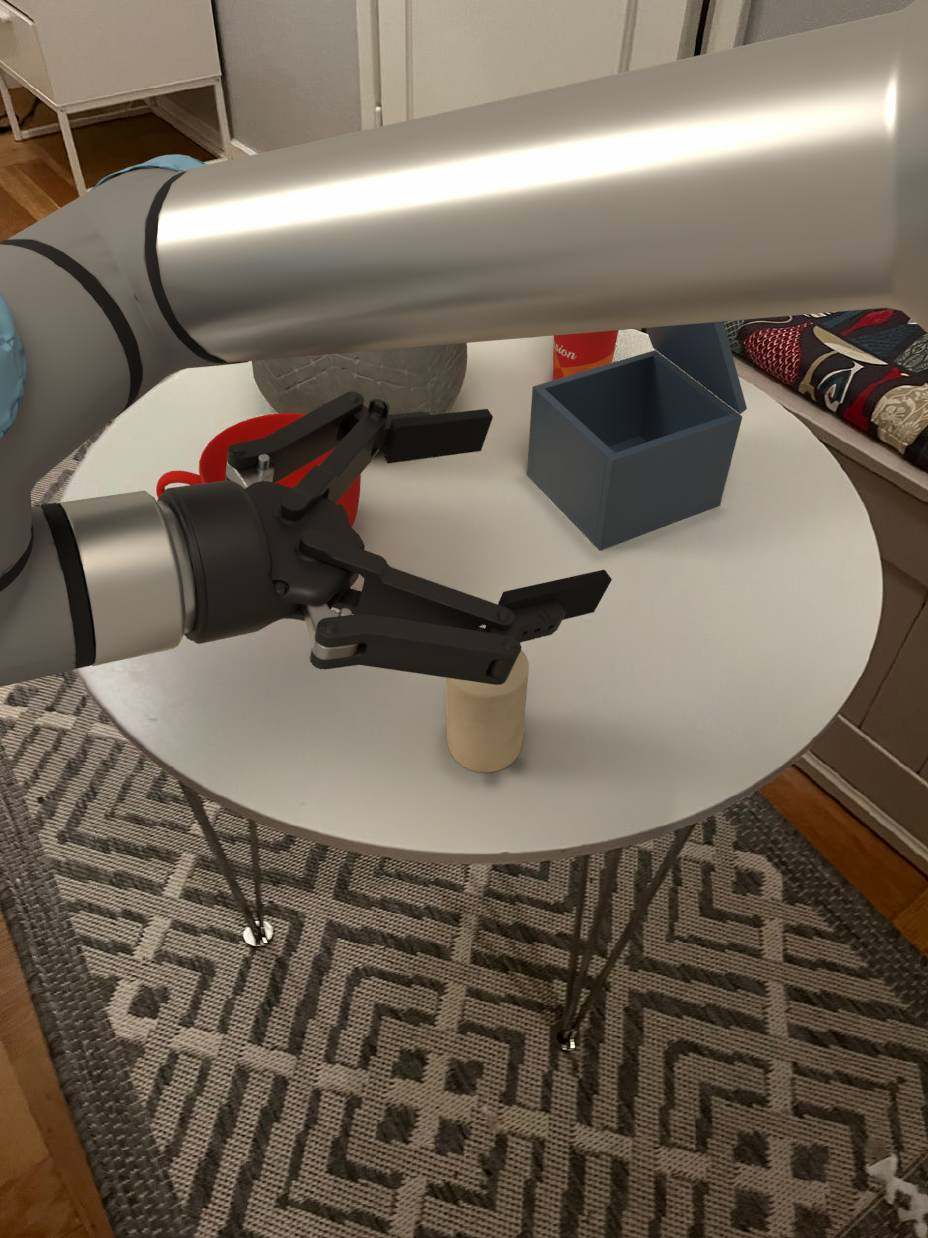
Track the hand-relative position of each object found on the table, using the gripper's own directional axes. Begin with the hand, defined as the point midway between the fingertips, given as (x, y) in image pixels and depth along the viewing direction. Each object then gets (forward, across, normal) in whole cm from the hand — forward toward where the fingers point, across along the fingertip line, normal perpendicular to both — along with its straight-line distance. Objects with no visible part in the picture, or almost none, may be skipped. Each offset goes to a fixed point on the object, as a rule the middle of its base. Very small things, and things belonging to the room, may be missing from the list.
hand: (538, 505), depth 55 cm
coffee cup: (+34, -35, -21) cm, 54 cm away
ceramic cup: (-4, -24, -27) cm, 36 cm away
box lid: (+27, -20, -3) cm, 34 cm away
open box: (+27, -17, -19) cm, 38 cm away
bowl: (+11, -38, -26) cm, 48 cm away
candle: (+2, +3, -22) cm, 22 cm away
